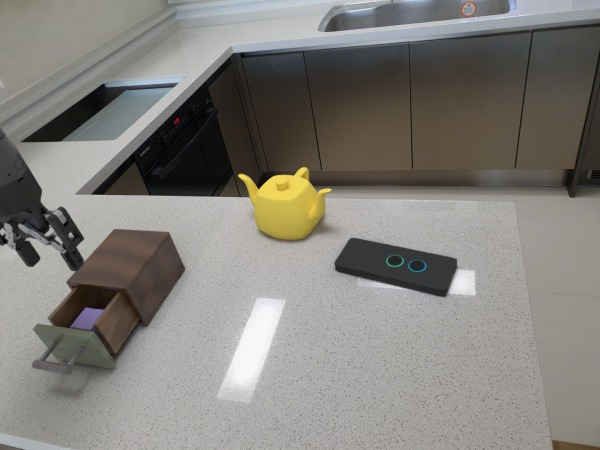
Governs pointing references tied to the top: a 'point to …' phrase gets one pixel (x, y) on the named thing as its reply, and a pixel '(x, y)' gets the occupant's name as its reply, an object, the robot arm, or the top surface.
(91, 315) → the lavender cube
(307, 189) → the teapot
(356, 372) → the top surface
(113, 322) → the drawer
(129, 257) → the cabinet
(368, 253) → the smart home device
